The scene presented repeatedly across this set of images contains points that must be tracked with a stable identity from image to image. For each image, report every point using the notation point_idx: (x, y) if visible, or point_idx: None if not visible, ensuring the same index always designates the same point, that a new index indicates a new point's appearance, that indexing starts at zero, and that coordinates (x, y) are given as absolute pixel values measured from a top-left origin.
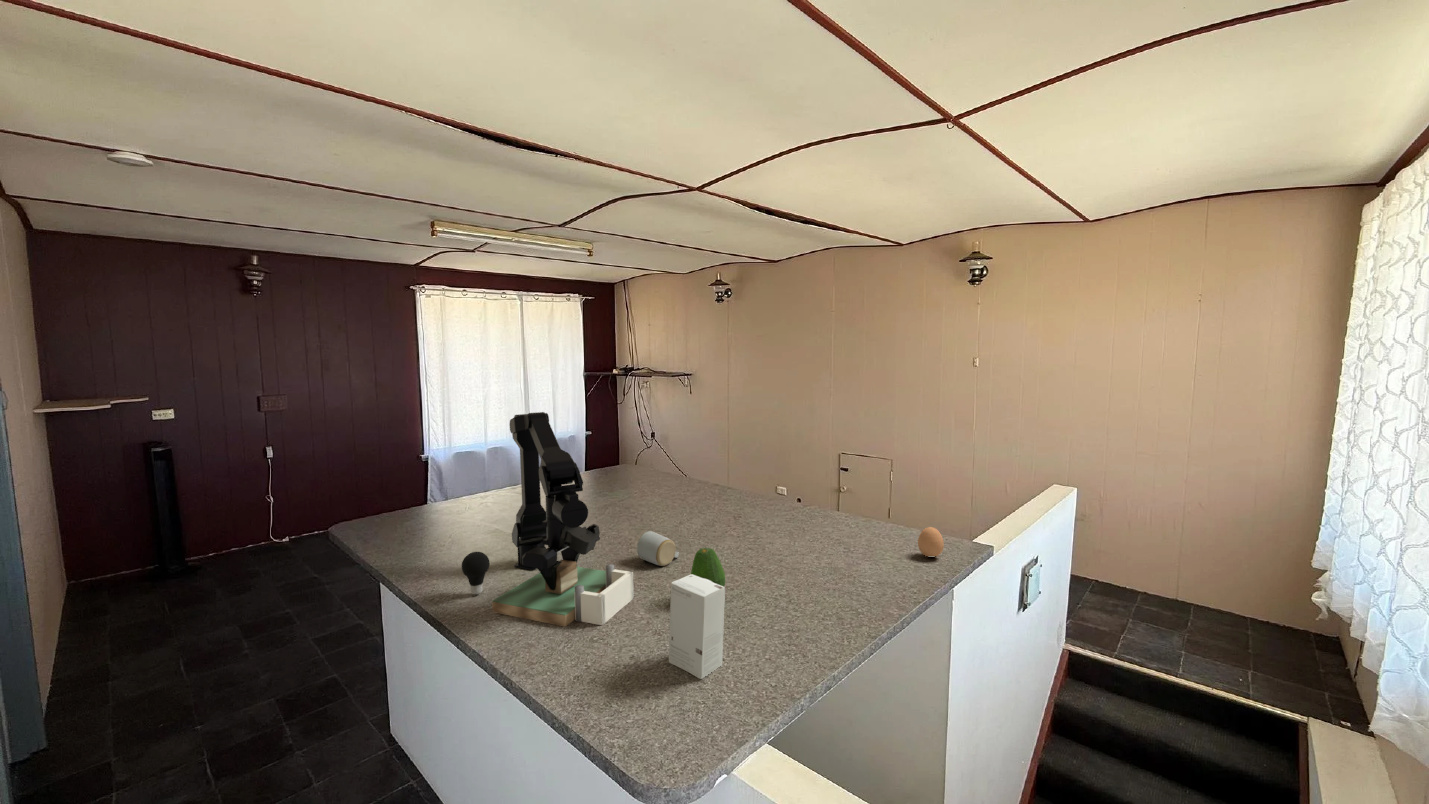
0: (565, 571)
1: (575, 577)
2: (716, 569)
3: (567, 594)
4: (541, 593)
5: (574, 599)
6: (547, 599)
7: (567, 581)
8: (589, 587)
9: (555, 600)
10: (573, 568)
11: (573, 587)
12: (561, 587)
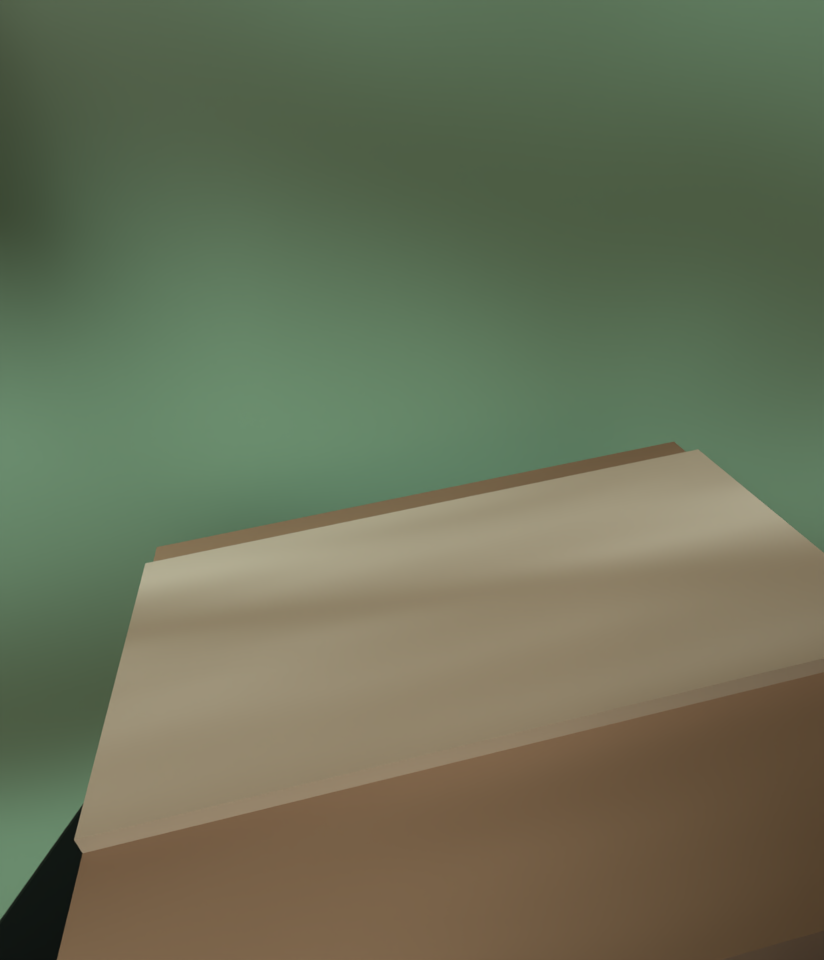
0: (743, 812)
1: (212, 620)
2: None
3: (543, 390)
4: None
5: (681, 95)
6: (786, 511)
7: (546, 569)
8: (49, 232)
9: (797, 389)
10: (259, 863)
11: (262, 514)
12: (743, 494)
